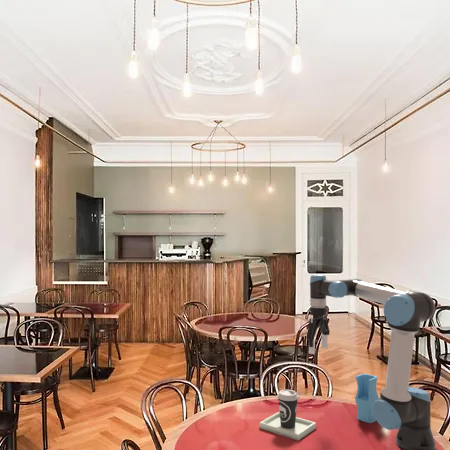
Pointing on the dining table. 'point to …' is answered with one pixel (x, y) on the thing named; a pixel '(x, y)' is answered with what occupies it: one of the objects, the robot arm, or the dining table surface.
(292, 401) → the coffee cup
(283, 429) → the tray
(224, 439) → the dining table surface
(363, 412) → the vase
